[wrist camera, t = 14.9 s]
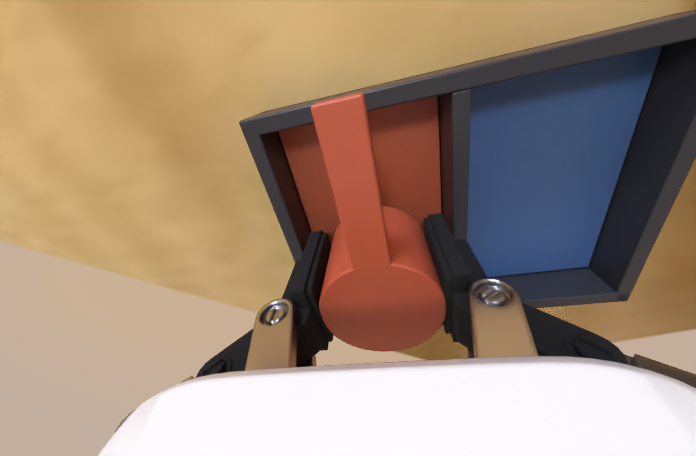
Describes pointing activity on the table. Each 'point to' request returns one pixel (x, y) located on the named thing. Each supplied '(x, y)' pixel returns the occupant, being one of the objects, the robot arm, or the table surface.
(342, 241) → the scoop terracotta
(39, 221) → the table surface
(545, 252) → the tray
